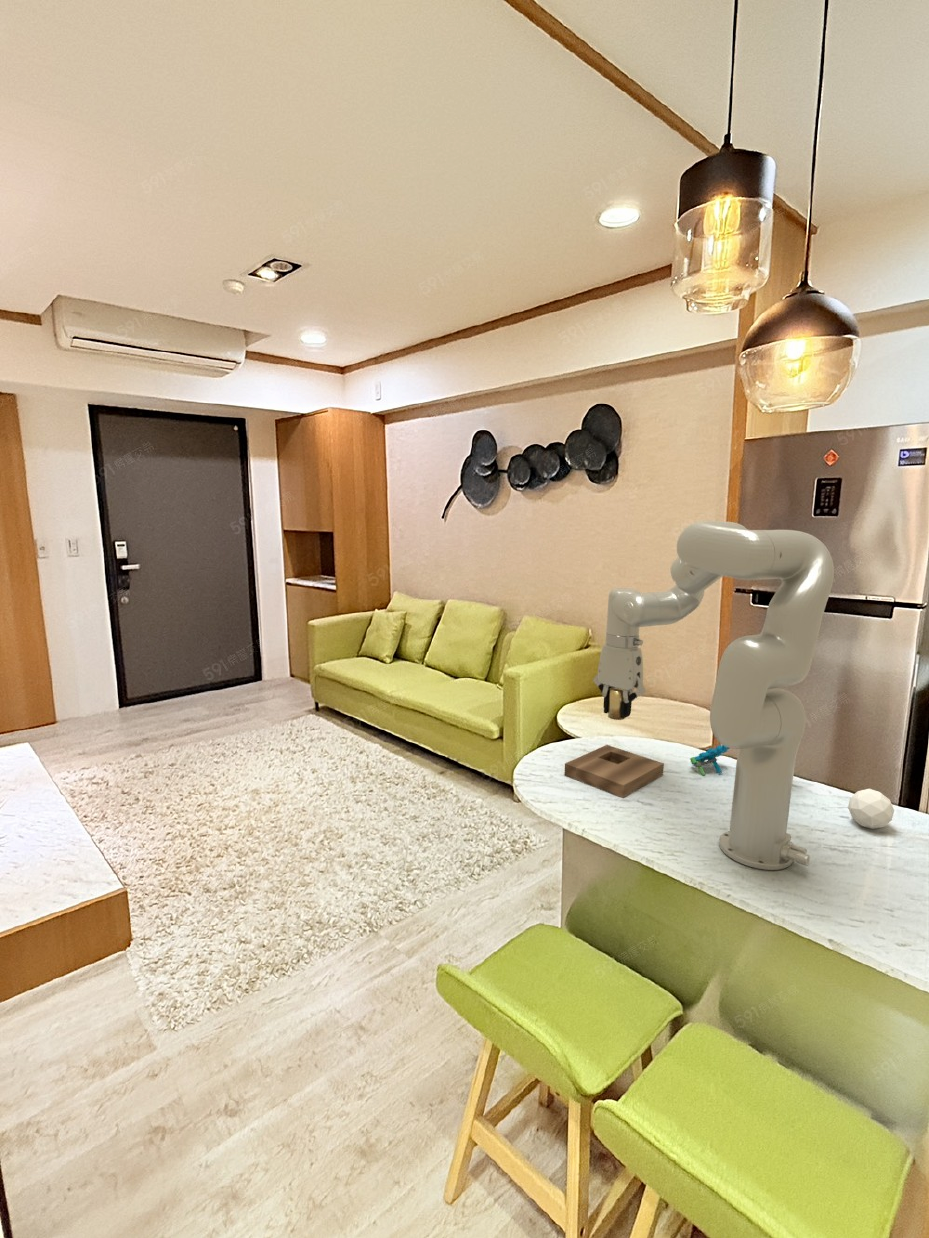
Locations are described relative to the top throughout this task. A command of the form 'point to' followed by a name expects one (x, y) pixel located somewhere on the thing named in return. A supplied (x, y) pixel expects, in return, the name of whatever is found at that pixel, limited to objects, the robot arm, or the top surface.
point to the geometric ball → (871, 808)
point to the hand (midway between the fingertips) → (616, 713)
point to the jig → (614, 770)
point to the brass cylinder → (615, 703)
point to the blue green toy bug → (709, 758)
